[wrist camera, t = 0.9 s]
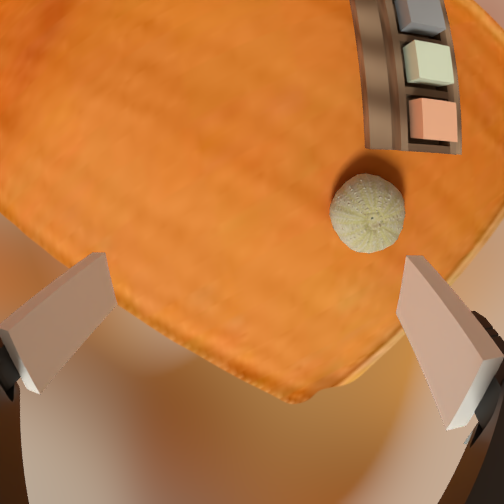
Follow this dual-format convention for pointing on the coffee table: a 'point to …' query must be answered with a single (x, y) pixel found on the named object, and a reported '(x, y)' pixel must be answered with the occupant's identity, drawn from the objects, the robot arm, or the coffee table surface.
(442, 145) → the brown stepped piece
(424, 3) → the slate key
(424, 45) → the sage key
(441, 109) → the terracotta key
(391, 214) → the sea urchin shell
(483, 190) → the coffee table surface
